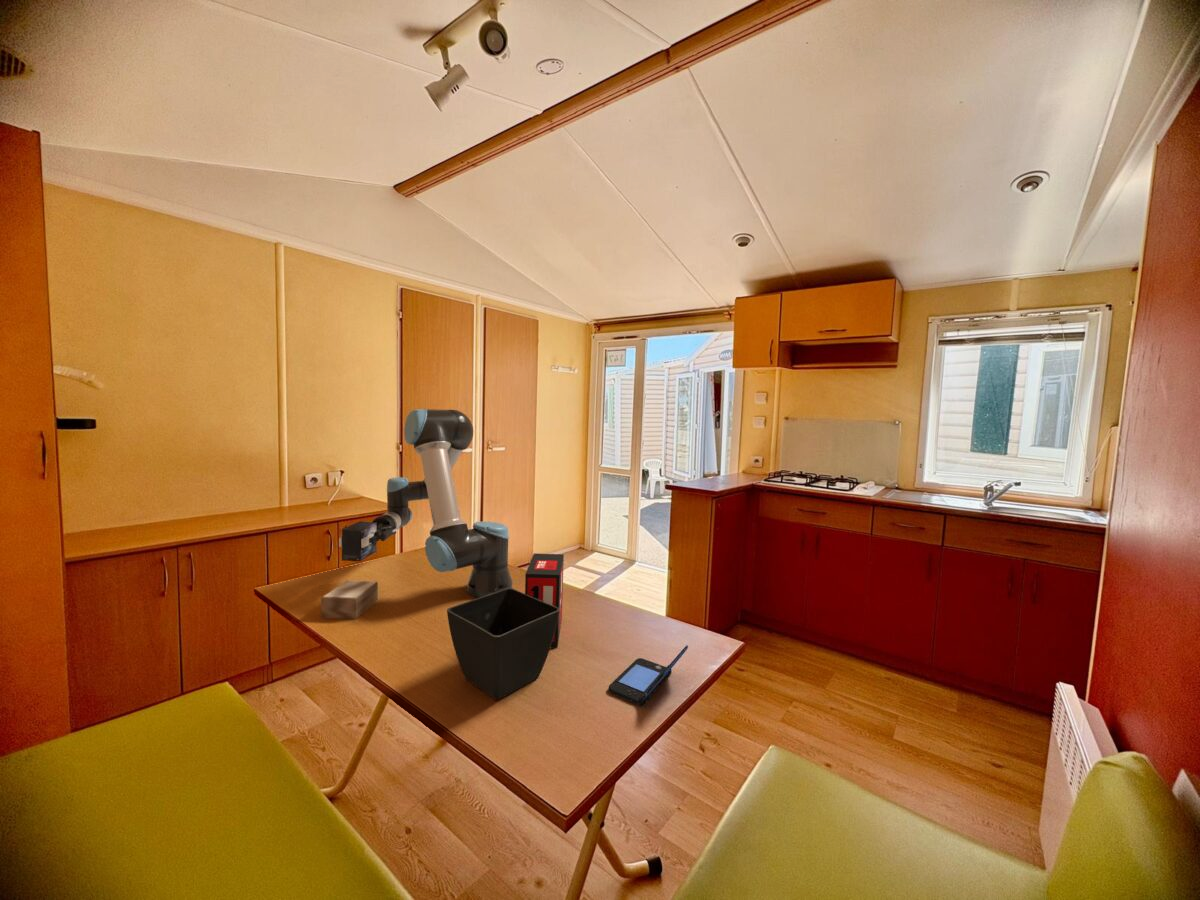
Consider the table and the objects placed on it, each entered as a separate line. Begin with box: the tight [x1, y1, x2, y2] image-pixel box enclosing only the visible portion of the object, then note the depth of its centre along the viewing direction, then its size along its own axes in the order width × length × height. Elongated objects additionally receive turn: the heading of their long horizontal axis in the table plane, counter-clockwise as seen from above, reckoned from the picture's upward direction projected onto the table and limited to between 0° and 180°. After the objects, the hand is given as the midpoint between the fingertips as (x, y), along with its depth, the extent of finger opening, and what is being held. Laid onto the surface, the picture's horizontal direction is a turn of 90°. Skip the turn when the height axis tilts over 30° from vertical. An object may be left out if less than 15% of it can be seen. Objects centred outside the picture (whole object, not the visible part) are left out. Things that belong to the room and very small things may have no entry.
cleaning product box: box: [524, 552, 565, 649], centre depth 128 cm, size 16×9×20 cm, turn 1°
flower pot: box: [446, 587, 560, 700], centre depth 106 cm, size 19×19×17 cm
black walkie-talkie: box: [608, 645, 689, 708], centre depth 105 cm, size 16×13×9 cm
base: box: [320, 580, 379, 620], centre depth 138 cm, size 10×13×6 cm
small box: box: [341, 520, 378, 562], centre depth 150 cm, size 11×6×10 cm, turn 178°
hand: (351, 543), depth 145 cm, fingers closed on small box, 6 cm apart
